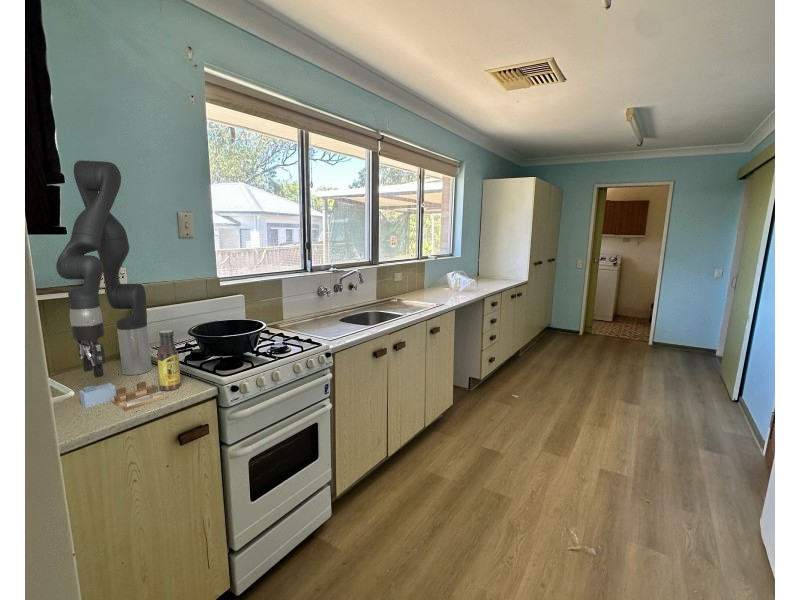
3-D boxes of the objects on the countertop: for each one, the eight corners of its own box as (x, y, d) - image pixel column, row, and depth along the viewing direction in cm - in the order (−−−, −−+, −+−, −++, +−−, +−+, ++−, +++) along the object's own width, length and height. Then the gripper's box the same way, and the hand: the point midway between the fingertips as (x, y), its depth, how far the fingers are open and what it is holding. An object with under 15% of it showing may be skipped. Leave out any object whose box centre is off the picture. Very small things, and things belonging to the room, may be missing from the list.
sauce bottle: (171, 392, 128) (165, 334, 125) (155, 390, 130) (149, 333, 126) (185, 384, 135) (180, 329, 131) (170, 383, 136) (164, 328, 132)
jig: (110, 401, 121) (109, 390, 121) (150, 389, 131) (149, 379, 130) (125, 411, 115) (123, 400, 115) (166, 397, 125) (165, 387, 124)
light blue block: (81, 404, 119) (78, 387, 118) (111, 395, 126) (109, 379, 125) (85, 408, 117) (83, 391, 116) (116, 399, 123) (114, 382, 122)
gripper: (63, 321, 117) (70, 372, 120) (80, 328, 109) (87, 382, 112) (93, 317, 123) (99, 365, 126) (111, 323, 115) (117, 375, 118)
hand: (93, 373), depth 119 cm, fingers open, 8 cm apart
